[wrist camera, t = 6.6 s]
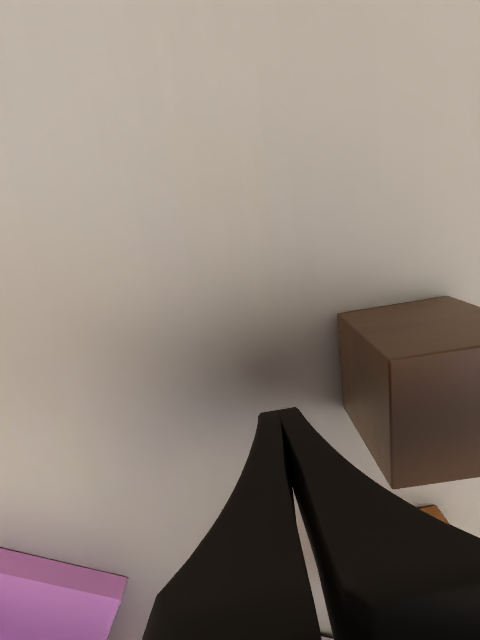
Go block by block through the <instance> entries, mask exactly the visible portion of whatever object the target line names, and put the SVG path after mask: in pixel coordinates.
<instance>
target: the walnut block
mask: <svg viewBox="0 0 480 640" xmlns="http://www.w3.org/2000/svg"><path fill="white" fill-rule="evenodd" d="M338 328H339V342H340V355H341V369H342V383H343V396H344V408H345V410H346V412H347V413H348V415H349V417H350V419H351V420H352V422H353V424H354V425H355V427H356V429H357V430H358V432H359V434H360V436H361V437H362V439H363V441H364V442H365V444H366V446H367V448H368V449H369V451H370V453H371V454H372V456H373V458H374V459H375V461H376V463H377V465H378V466H379V468H380V470H381V471H382V473H383V475H384V476H385V478H386V480H387V482H388V483H389V485H390V487H391V488H392V489H399V488H406V487H413V486H420V485H427V484H434V483H441V482H448V481H455V480H462V479H469V478H476V477H480V307H478V306H475V305H472V304H469V303H467V302H464V301H461V300H458V299H455V298H453V297H450V296H446V297H440V298H434V299H427V300H421V301H415V302H409V303H402V304H396V305H390V306H384V307H378V308H371V309H365V310H359V311H353V312H346V313H340V314H338Z"/></svg>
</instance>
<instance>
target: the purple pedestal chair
mask: <svg viewBox="0 0 480 640" xmlns="http://www.w3.org/2000/svg"><path fill="white" fill-rule="evenodd" d="M127 579H128V578H127V577H123V576H118V575H114V574H110V573H105V572H101V571H97V570H92V569H88V568H84V567H80V566H75V565H71V564H67V563H62V562H58V561H54V560H49V559H45V558H41V557H36V556H32V555H28V554H23V553H19V552H15V551H10V550H6V549H2V548H0V640H107V637H108V634H109V632H110V629H111V626H112V624H113V621H114V618H115V616H116V613H117V610H118V608H119V605H120V602H121V600H122V596H123V593H124V590H125V586H126V583H127Z"/></svg>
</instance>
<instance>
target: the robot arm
mask: <svg viewBox="0 0 480 640" xmlns="http://www.w3.org/2000/svg"><path fill="white" fill-rule="evenodd" d="M292 487H293V489H292ZM293 490H294V494H295V497H296V500H297V503H298V506H299V509H300V513H301V516H302V519H303V522H304V525H305V528H306V532H307V535H308V538H309V541H310V544H311V548H312V551H313V554H314V558H315V561H316V565H317V568H318V573H319V577H320V581H321V586H322V590H323V594H324V599H325V603H326V607H327V612H328V616H329V620H330V625H331V629H332V634H333V638H334V639H332V638H327V637H323V636H321V633H320V628H319V623H318V618H317V614H316V609H315V604H314V599H313V595H312V591H311V586H310V582H309V578H308V573H307V569H306V565H305V560H304V556H303V551H302V547H301V542H300V538H299V533H298V529H297V524H296V515H295V506H294V498H293ZM142 640H480V538H478V537H476V536H474V535H471V534H469V533H467V532H465V531H463V530H461V529H458V528H456V527H454V526H452V525H450V524H447V523H445V522H443V521H441V520H439V519H437V518H435V517H433V516H432V515H430V514H428V513H426V512H424V511H422V510H420V509H418V508H416V507H415V506H413V505H411V504H409V503H408V502H406V501H404V500H403V499H401V498H400V497H398V496H396V495H395V494H393V493H391V492H390V491H388V490H387V489H385V488H383V487H382V486H381V485H379V484H378V483H376V482H375V481H373V480H372V479H370V478H369V477H368V476H366V475H365V474H364V473H362V472H361V471H360V470H358V469H357V468H356V467H355V466H353V465H352V464H351V463H350V462H349V461H347V460H346V459H345V458H344V457H343V456H342V455H340V454H339V453H338V452H337V451H336V450H335V449H334V448H333V447H332V446H331V445H330V444H329V443H328V442H327V441H326V440H325V439H324V438H323V437H322V436H321V435H320V434H319V433H318V432H317V431H316V430H315V429H314V428H313V427H312V426H311V424H310V423H309V422H308V421H307V420H306V419H305V417H304V416H303V415H302V413H301V412H300V411H299V409H297V408H296V407H292V408H287V409H281V410H275V411H269V412H263V413H260V415H259V416H258V425H257V430H256V434H255V437H254V441H253V444H252V447H251V450H250V453H249V456H248V459H247V461H246V464H245V466H244V469H243V471H242V473H241V476H240V478H239V480H238V482H237V484H236V486H235V488H234V490H233V492H232V494H231V496H230V498H229V500H228V501H227V503H226V505H225V507H224V508H223V510H222V512H221V513H220V515H219V517H218V518H217V520H216V521H215V523H214V524H213V526H212V527H211V529H210V530H209V532H208V533H207V534H206V536H205V537H204V539H203V540H202V541H201V543H200V544H199V545H198V547H197V548H196V550H195V551H194V552H193V554H192V555H191V556H190V558H189V559H188V560H187V561H186V563H185V564H184V565H183V566H182V567H181V568H180V570H179V571H178V572H177V573H176V574H175V575H174V577H173V578H172V579H171V580H170V581H169V582H168V584H167V585H166V586H165V587H164V588H163V589H162V590H161V591H160V593H159V594H158V595H157V597H156V599H155V602H154V605H153V608H152V610H151V613H150V616H149V619H148V623H147V626H146V629H145V632H144V635H143V638H142Z"/></svg>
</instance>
